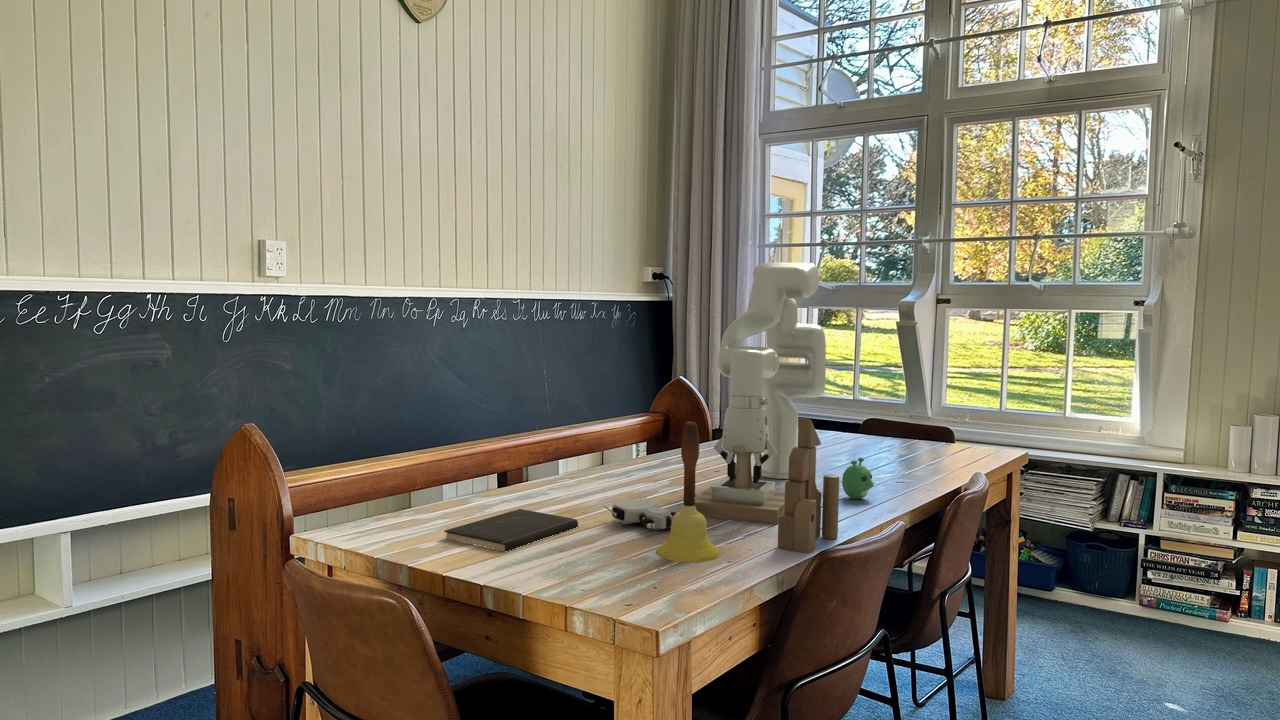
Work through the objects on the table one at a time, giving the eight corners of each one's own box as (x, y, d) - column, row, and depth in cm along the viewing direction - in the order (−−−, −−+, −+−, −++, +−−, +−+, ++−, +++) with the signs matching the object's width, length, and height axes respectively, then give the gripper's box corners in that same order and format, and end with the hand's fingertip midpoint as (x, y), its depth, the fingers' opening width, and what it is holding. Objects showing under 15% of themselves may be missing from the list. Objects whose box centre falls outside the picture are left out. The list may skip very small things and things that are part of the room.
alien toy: (866, 503, 212) (867, 462, 212) (836, 499, 217) (838, 458, 216) (877, 498, 218) (879, 458, 217) (848, 494, 223) (849, 455, 222)
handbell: (730, 559, 164) (733, 426, 162) (667, 564, 160) (670, 427, 159) (707, 542, 176) (709, 417, 174) (647, 546, 172) (649, 418, 171)
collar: (725, 489, 212) (725, 477, 211) (774, 494, 207) (775, 481, 207) (711, 499, 200) (711, 486, 200) (763, 504, 196) (763, 491, 196)
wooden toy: (809, 554, 168) (812, 424, 167) (777, 548, 172) (780, 421, 171) (840, 537, 181) (843, 416, 179) (809, 532, 185) (813, 413, 183)
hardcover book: (444, 541, 175) (444, 530, 175) (519, 519, 194) (519, 508, 194) (505, 555, 166) (505, 543, 166) (578, 530, 186) (578, 519, 186)
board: (713, 497, 217) (713, 485, 217) (794, 504, 210) (795, 492, 210) (689, 514, 198) (689, 501, 198) (777, 523, 191) (777, 510, 191)
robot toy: (690, 531, 188) (642, 513, 198) (692, 511, 187) (643, 493, 198) (648, 541, 179) (600, 522, 190) (650, 520, 179) (602, 501, 189)
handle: (760, 509, 205) (760, 444, 204) (742, 513, 200) (742, 447, 200) (744, 506, 208) (744, 442, 208) (726, 509, 204) (726, 445, 203)
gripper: (786, 403, 203) (784, 481, 204) (714, 399, 209) (713, 475, 210) (779, 406, 196) (777, 487, 197) (705, 402, 202) (704, 481, 203)
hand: (744, 480), depth 204 cm, fingers open, 5 cm apart
